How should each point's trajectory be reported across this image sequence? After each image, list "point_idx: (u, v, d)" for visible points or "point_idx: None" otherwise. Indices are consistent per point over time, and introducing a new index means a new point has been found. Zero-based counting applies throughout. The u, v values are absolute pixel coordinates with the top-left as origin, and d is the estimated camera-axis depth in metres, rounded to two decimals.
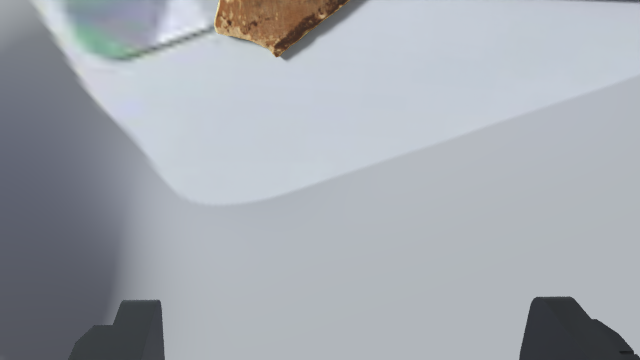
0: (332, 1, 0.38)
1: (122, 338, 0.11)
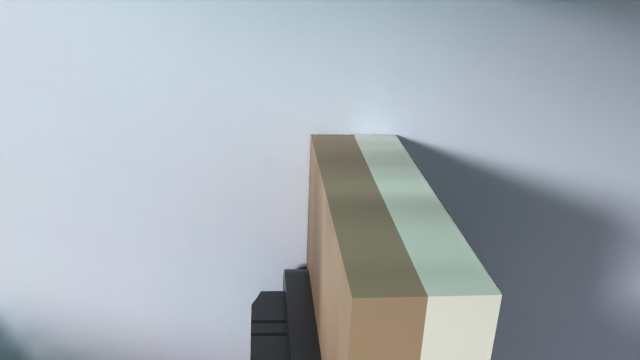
0: None
1: (299, 300, 0.12)
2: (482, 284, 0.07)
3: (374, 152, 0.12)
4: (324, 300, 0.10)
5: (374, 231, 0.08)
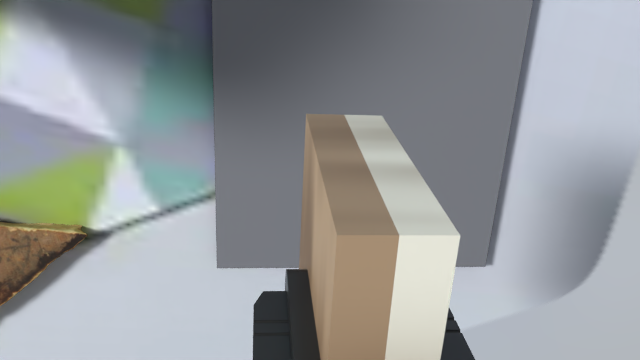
0: (1, 289, 0.29)
1: (301, 300, 0.12)
2: (445, 227, 0.09)
3: (362, 129, 0.13)
4: (315, 253, 0.11)
5: (358, 188, 0.10)
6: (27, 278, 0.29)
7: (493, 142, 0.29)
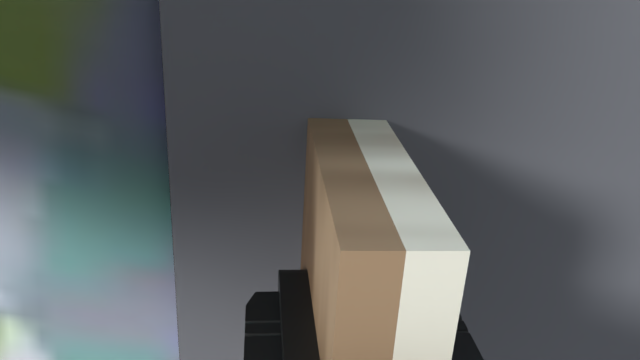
0: None
1: (293, 300, 0.12)
2: (453, 242, 0.08)
3: (366, 134, 0.13)
4: (317, 264, 0.11)
5: (362, 199, 0.10)
6: None
7: None
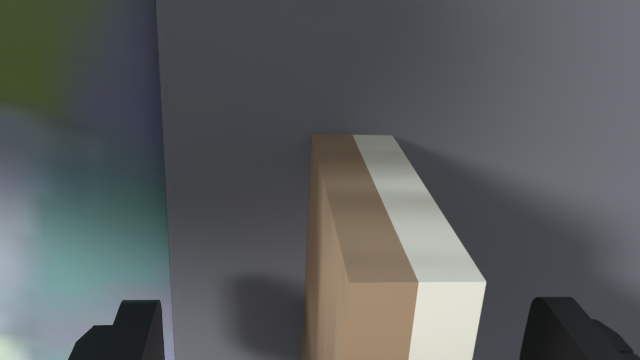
0: None
1: (122, 338, 0.11)
2: (468, 272, 0.08)
3: (372, 151, 0.12)
4: (323, 289, 0.11)
5: (370, 223, 0.09)
6: None
7: None
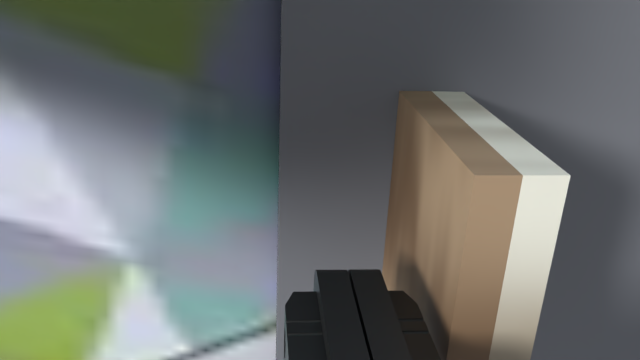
0: None
1: (333, 300, 0.12)
2: (555, 170, 0.11)
3: (453, 102, 0.15)
4: (426, 203, 0.14)
5: (473, 144, 0.12)
6: None
7: None
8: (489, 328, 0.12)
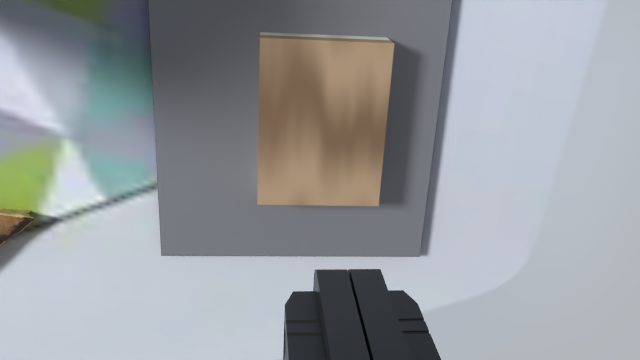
0: None
1: (333, 300, 0.12)
2: (382, 37, 0.28)
3: (283, 35, 0.27)
4: (335, 79, 0.27)
5: (356, 40, 0.27)
6: None
7: (421, 136, 0.31)
8: None
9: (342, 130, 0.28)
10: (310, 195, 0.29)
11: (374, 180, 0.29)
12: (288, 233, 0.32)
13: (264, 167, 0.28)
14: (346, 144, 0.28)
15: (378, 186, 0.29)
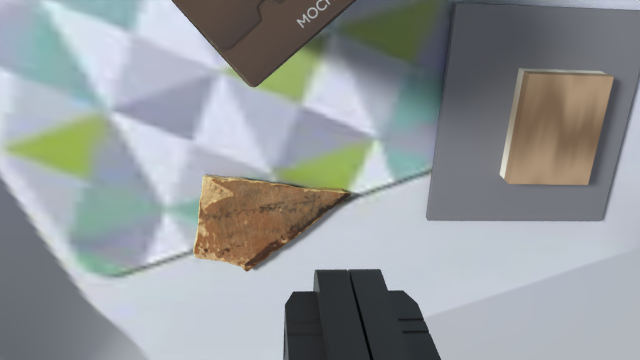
0: (292, 230, 0.44)
1: (333, 300, 0.12)
2: (598, 71, 0.42)
3: (537, 70, 0.41)
4: (573, 100, 0.41)
5: (586, 74, 0.41)
6: (309, 223, 0.44)
7: (613, 137, 0.44)
8: None
9: (572, 133, 0.42)
10: (544, 177, 0.43)
11: (587, 167, 0.43)
12: (515, 204, 0.46)
13: (517, 158, 0.42)
14: (573, 143, 0.42)
15: (589, 171, 0.43)
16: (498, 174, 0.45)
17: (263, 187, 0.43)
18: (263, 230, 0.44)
